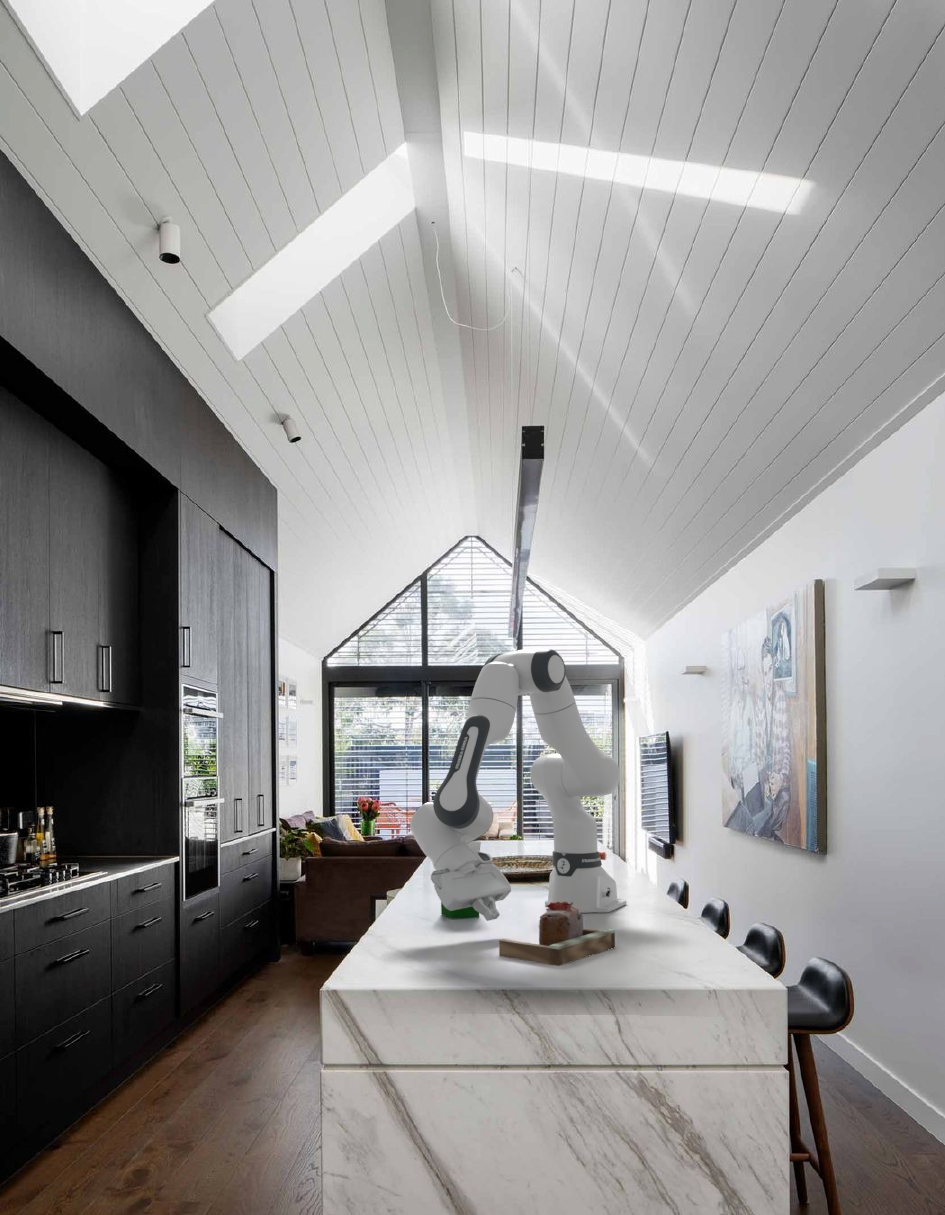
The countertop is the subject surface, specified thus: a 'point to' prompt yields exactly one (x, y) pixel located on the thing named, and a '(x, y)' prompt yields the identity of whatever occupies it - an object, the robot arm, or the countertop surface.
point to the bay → (560, 948)
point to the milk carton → (468, 911)
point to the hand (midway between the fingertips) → (494, 918)
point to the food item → (560, 924)
